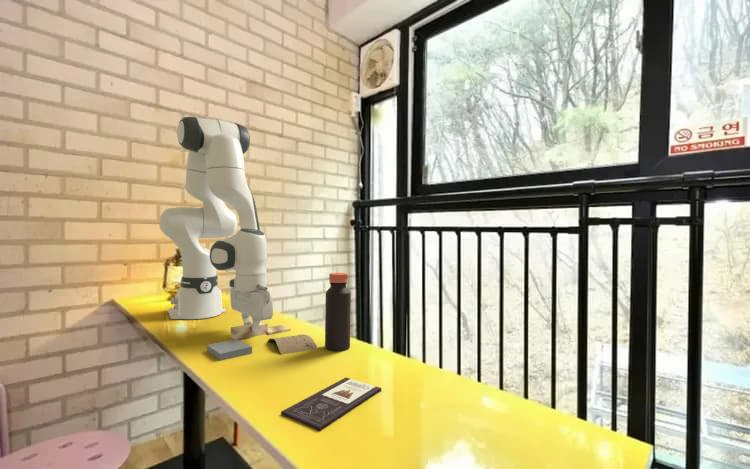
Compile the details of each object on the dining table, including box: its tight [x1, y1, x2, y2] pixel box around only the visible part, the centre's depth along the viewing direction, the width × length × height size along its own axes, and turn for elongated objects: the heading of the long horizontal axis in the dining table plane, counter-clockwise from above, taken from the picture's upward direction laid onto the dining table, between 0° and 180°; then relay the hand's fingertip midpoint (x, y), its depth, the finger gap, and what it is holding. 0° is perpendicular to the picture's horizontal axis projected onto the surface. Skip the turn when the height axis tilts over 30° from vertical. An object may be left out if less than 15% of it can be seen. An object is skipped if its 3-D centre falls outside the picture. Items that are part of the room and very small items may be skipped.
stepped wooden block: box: [230, 321, 291, 340], centre depth 112 cm, size 17×6×3 cm, turn 133°
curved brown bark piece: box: [267, 334, 318, 356], centre depth 101 cm, size 14×10×3 cm
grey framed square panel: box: [206, 339, 253, 362], centre depth 94 cm, size 2×8×9 cm
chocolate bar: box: [280, 377, 382, 432], centre depth 68 cm, size 9×1×18 cm
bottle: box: [324, 272, 352, 352], centre depth 99 cm, size 7×7×20 cm
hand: (250, 329), depth 110 cm, fingers closed on stepped wooden block, 3 cm apart
